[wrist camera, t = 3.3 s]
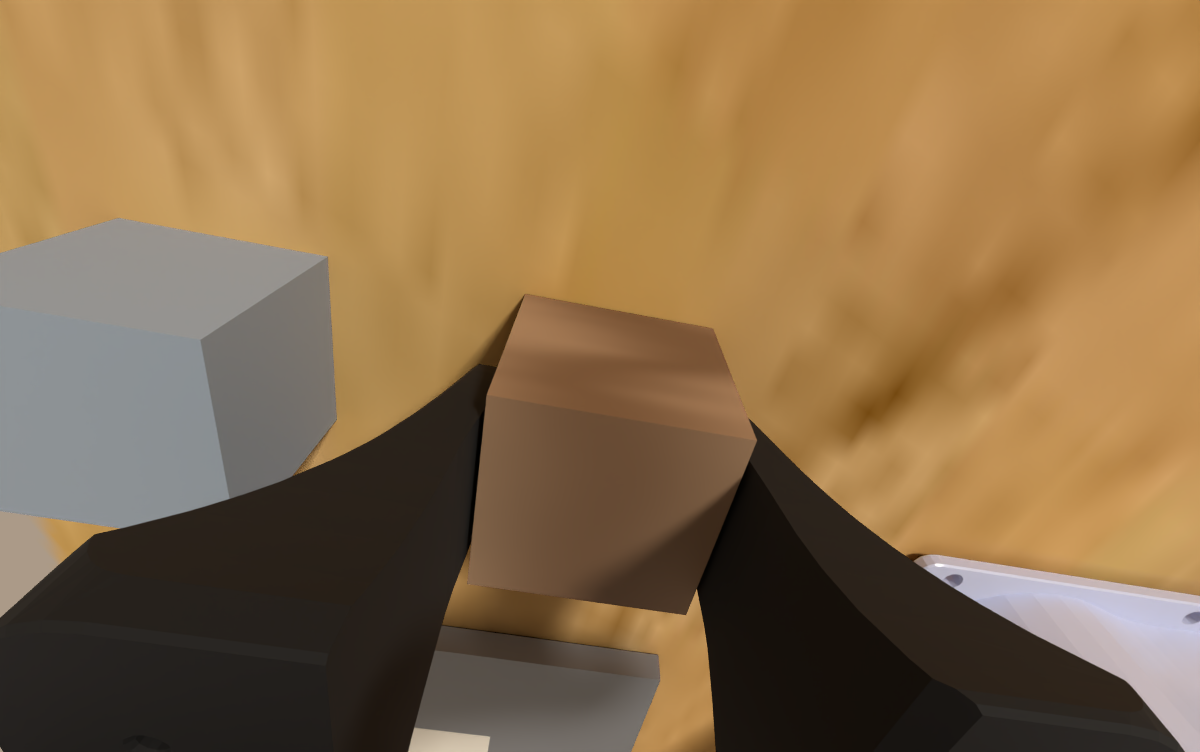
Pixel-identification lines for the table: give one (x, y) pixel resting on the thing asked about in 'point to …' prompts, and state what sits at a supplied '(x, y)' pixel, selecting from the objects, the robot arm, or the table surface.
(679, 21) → the table surface
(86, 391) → the slate block
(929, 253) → the table surface
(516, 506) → the walnut block
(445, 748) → the baseplate
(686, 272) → the table surface
